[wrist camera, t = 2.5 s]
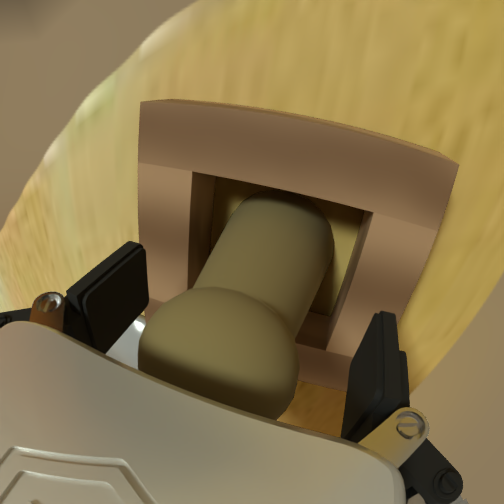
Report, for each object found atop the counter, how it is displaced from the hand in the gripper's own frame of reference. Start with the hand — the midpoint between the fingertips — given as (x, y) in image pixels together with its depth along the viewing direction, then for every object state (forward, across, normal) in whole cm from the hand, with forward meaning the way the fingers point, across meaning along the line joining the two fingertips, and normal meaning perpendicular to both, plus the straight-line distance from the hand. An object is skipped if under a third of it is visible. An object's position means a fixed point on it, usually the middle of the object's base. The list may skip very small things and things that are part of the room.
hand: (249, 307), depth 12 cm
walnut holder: (+6, 0, 0) cm, 6 cm away
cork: (+6, 0, 0) cm, 7 cm away
